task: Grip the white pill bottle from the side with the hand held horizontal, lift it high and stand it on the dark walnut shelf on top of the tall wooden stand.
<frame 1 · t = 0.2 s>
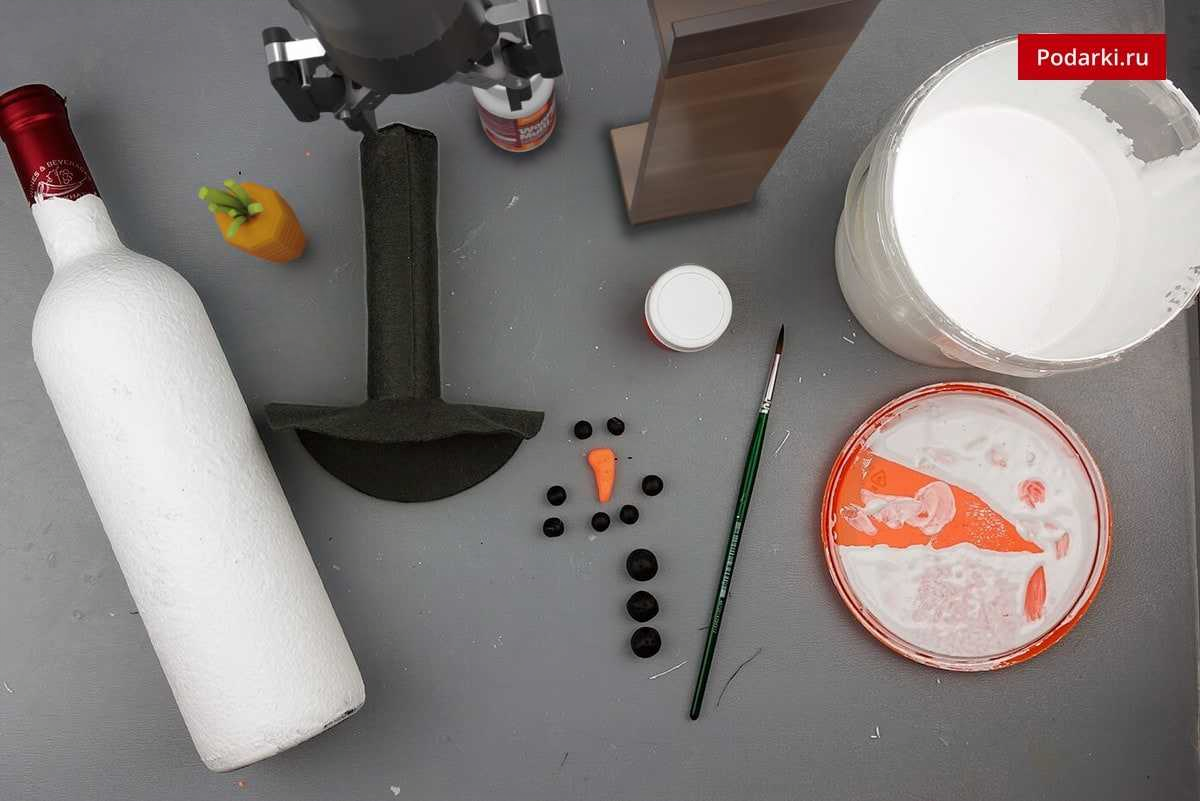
hand: (441, 108, 53), 21 cm above the table, tool pointing down, fingers open, 8 cm apart
stand: (679, 168, 74), on the table
pill bottle: (519, 118, 74), on the table
carrot: (297, 251, 73), on the table
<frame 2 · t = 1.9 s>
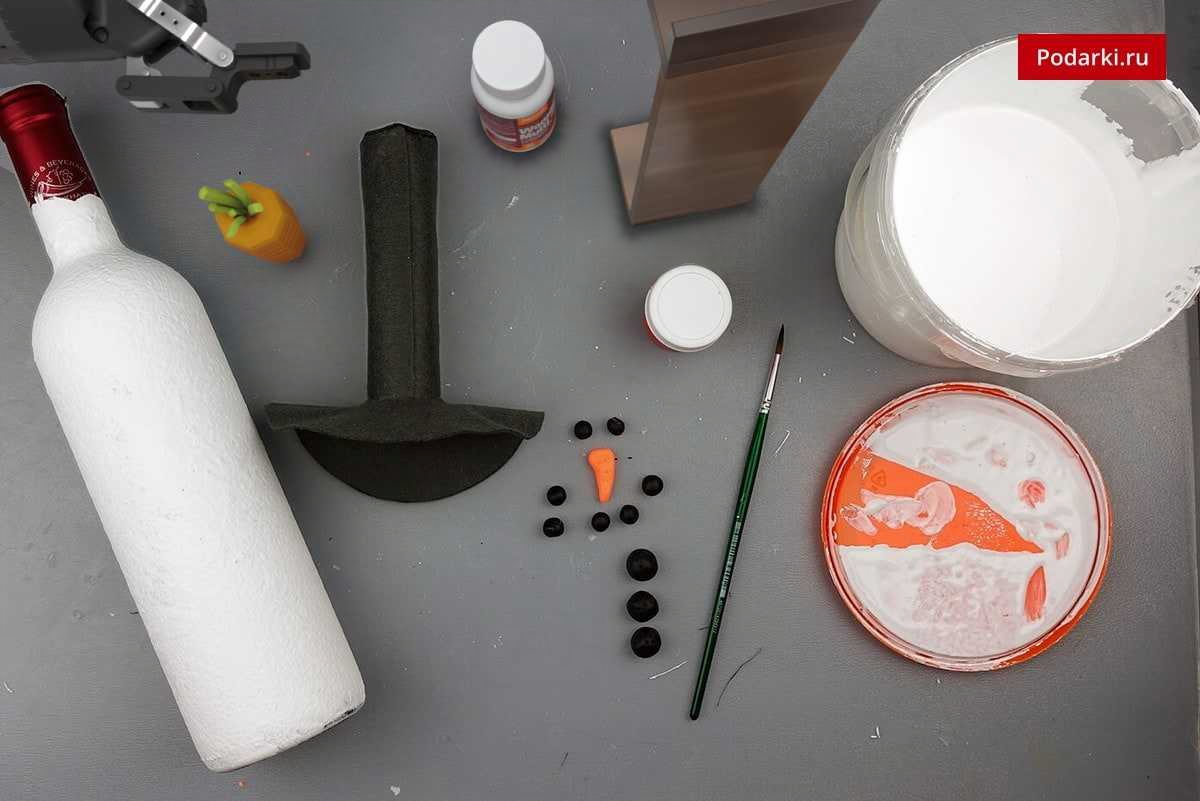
nothing on the table moved.
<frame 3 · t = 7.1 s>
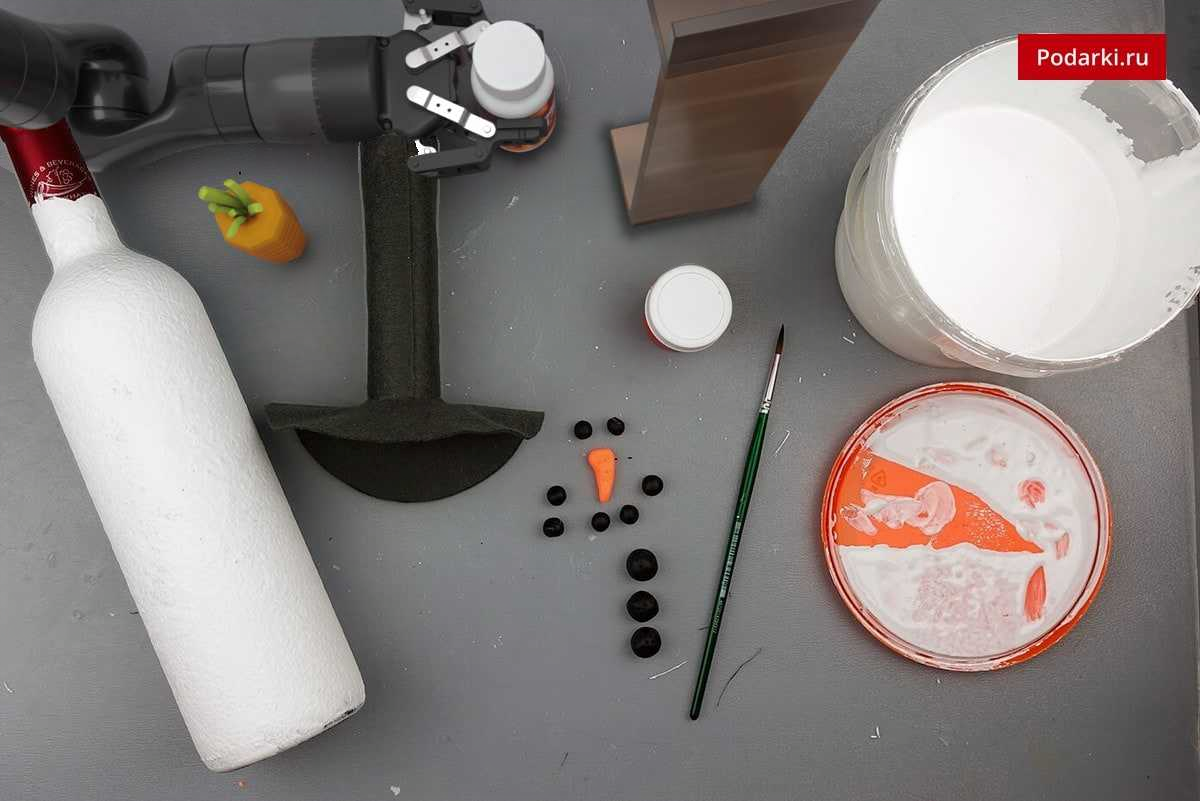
hand: (544, 83, 68), 7 cm above the table, tool horizontal, fingers closed on pill bottle, 6 cm apart
pill bottle: (519, 118, 74), on the table, touching gripper
everything else where it was.
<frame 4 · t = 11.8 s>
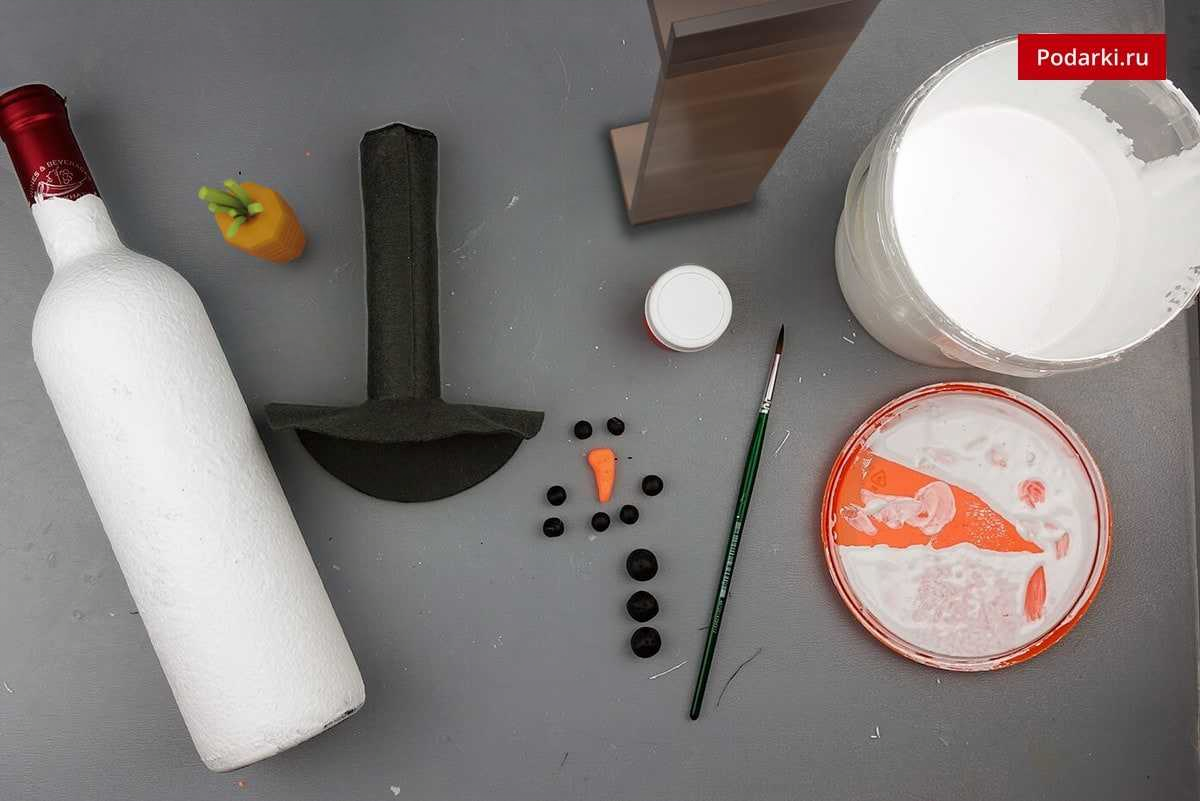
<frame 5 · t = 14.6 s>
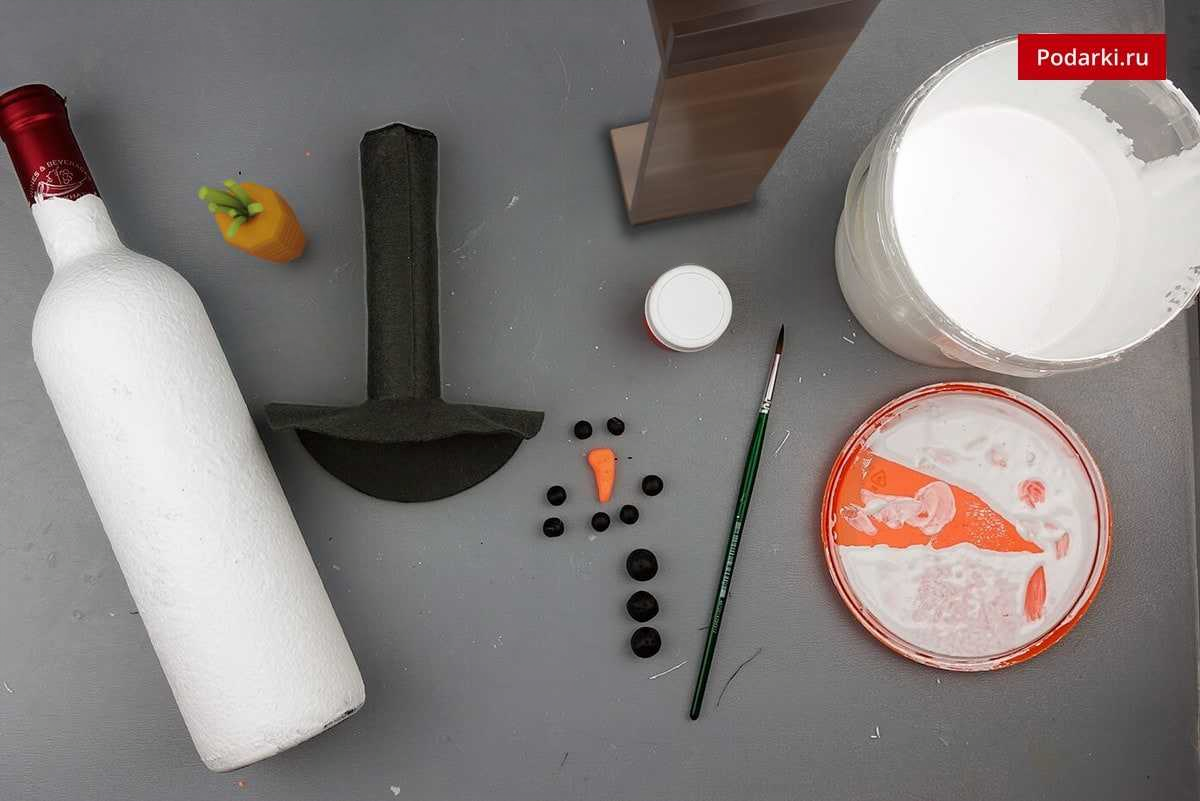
when the fingers open (37 cm above the table, at t = 16.7 s): pill bottle stays where it is, resting on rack.
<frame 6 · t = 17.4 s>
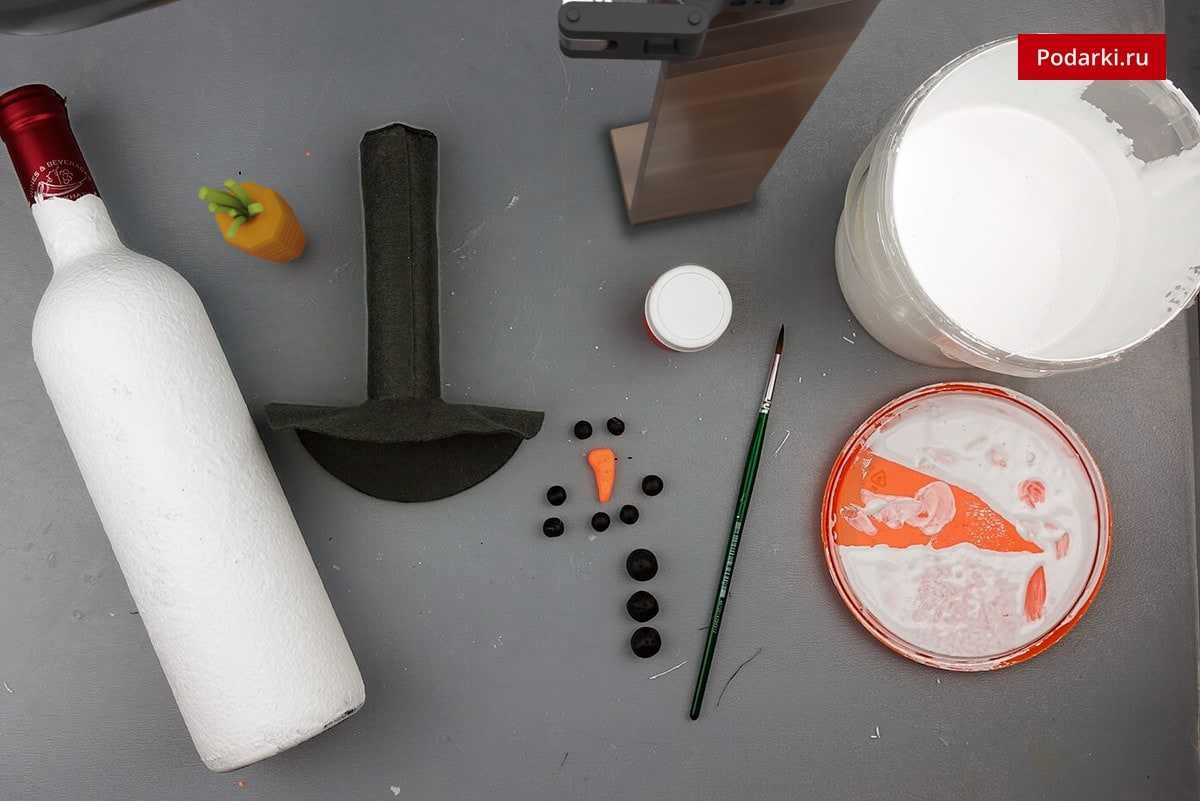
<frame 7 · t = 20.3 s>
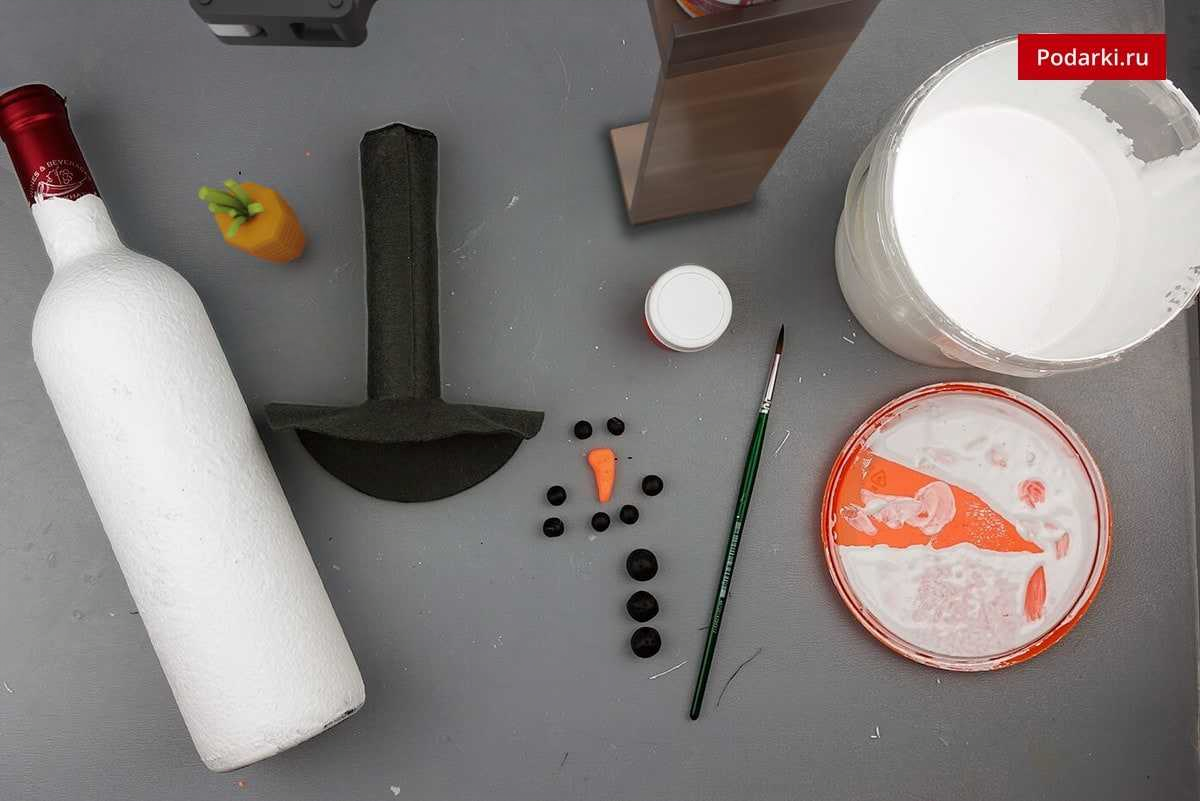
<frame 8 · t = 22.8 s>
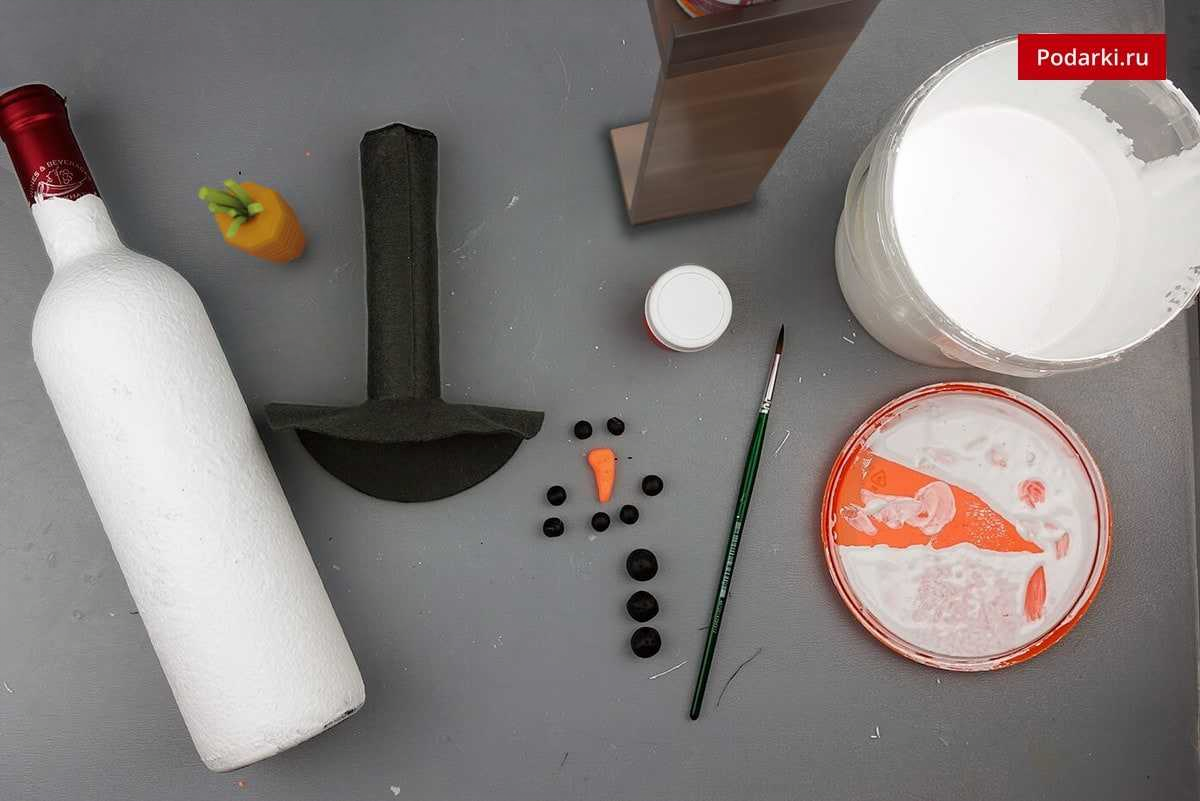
at the end: pill bottle inside the target area on the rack (1.2 cm from its centre), point 1.3 cm above the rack's base; pill bottle tilted 0°; the gripper is holding nothing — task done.
